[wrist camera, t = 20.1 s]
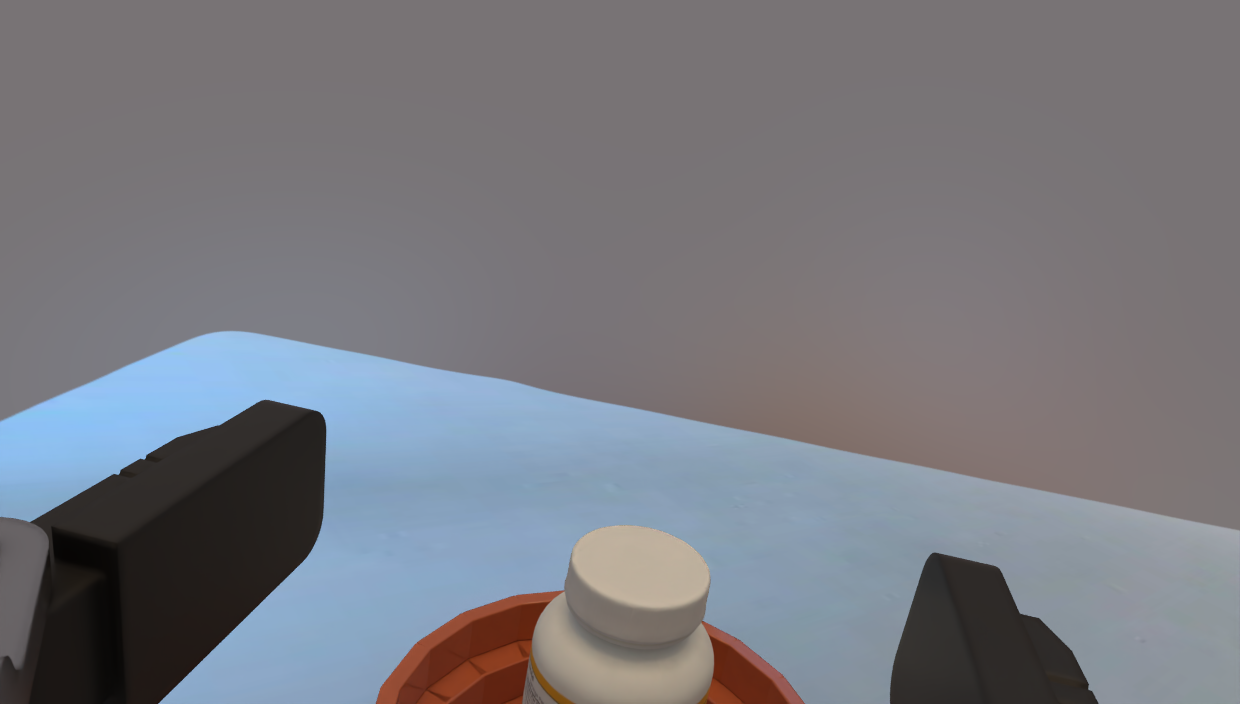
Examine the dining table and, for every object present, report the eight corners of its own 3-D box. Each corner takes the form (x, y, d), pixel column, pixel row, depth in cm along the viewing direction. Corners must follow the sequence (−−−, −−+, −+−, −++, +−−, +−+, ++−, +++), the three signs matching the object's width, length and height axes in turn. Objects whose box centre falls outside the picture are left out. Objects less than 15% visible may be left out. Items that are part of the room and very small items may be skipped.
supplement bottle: (479, 865, 24) (517, 589, 21) (535, 734, 29) (572, 495, 26) (658, 924, 24) (725, 646, 20) (684, 779, 29) (741, 537, 25)
